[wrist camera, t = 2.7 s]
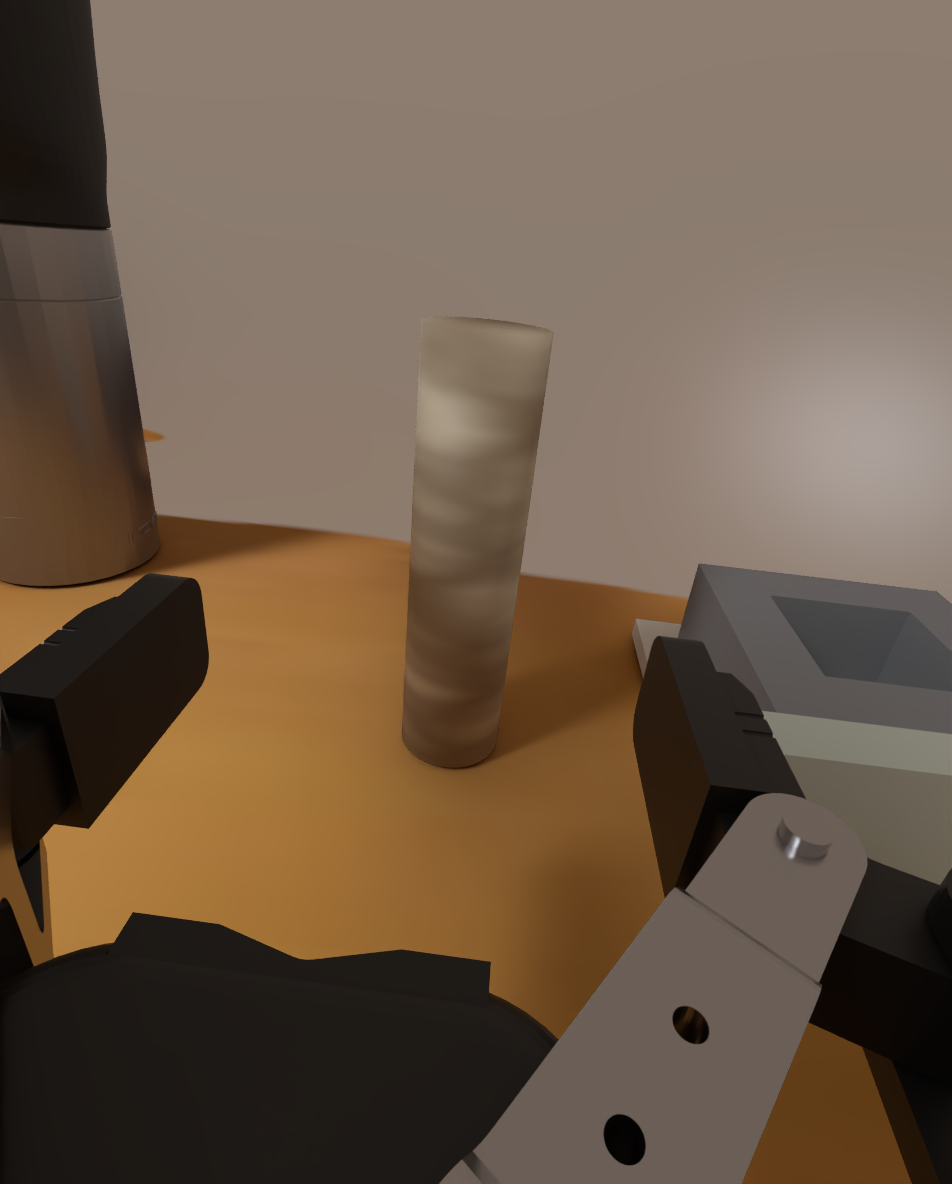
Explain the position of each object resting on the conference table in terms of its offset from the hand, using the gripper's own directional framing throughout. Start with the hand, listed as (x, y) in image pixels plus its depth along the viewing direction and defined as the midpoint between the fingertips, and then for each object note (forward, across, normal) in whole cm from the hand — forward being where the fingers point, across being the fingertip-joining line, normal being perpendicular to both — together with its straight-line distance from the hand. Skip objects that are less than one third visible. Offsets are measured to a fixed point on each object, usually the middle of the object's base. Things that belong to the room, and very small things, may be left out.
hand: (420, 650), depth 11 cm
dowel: (+12, 0, +12) cm, 16 cm away
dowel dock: (+14, -16, +12) cm, 24 cm away
